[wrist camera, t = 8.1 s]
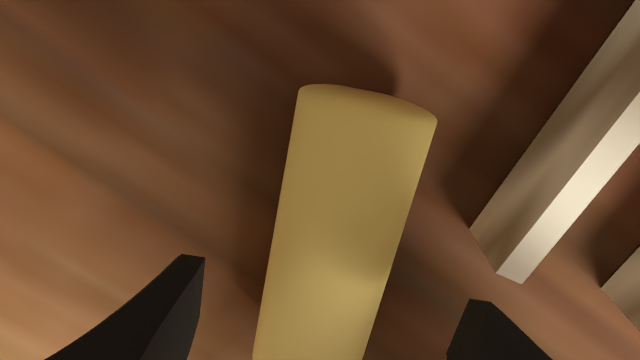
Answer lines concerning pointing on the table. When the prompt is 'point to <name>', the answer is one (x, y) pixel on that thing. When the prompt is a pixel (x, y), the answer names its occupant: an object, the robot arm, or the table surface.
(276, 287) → the pale yellow cylinder
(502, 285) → the table surface
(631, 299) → the rack
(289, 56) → the table surface
